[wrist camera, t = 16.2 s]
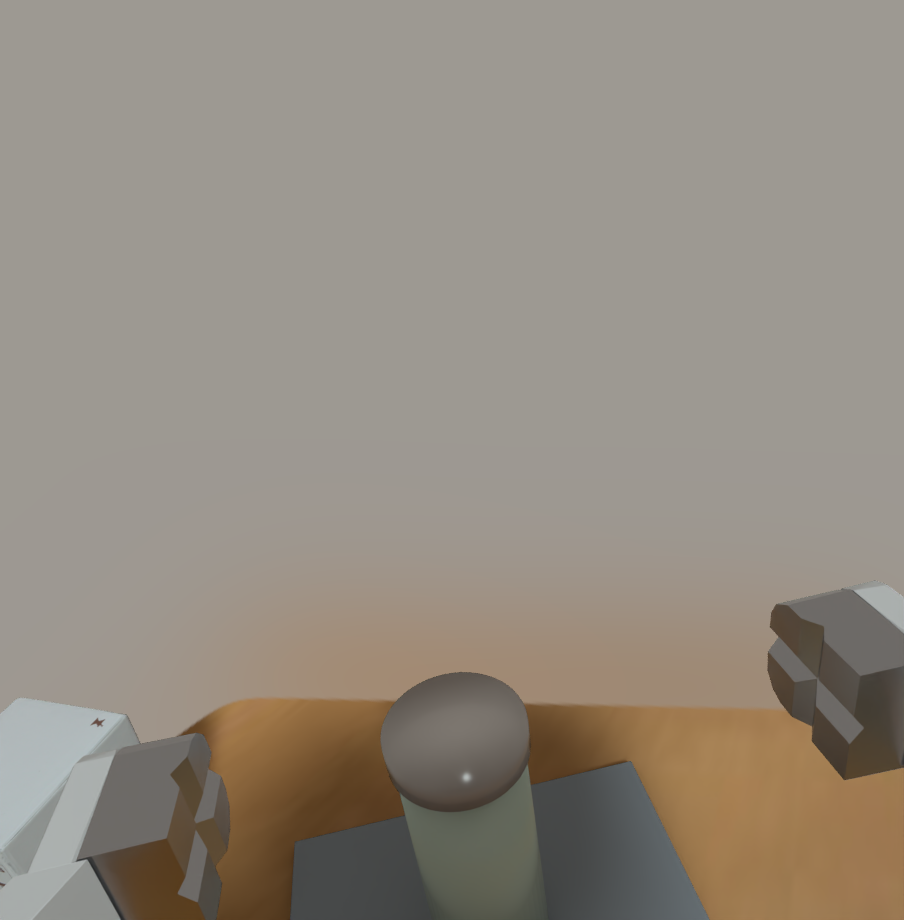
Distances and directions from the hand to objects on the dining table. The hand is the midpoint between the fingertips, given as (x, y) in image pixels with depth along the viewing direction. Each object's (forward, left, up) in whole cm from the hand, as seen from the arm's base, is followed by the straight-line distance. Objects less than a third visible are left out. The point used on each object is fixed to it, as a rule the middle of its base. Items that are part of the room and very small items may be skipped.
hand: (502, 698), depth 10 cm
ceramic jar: (0, +13, -27) cm, 30 cm away
